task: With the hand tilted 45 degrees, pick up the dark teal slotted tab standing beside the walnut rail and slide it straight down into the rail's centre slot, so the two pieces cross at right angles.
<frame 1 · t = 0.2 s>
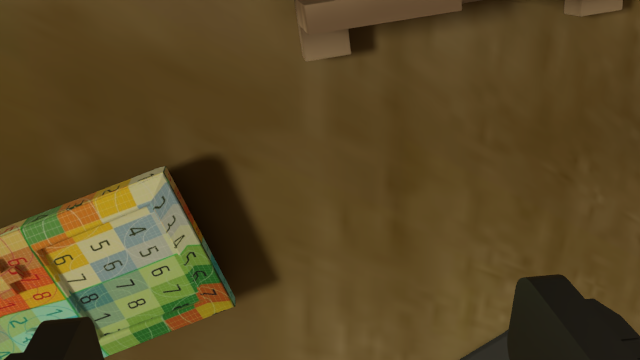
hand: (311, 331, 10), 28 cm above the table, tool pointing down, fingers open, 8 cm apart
puzzle game: (84, 264, 40), on the table
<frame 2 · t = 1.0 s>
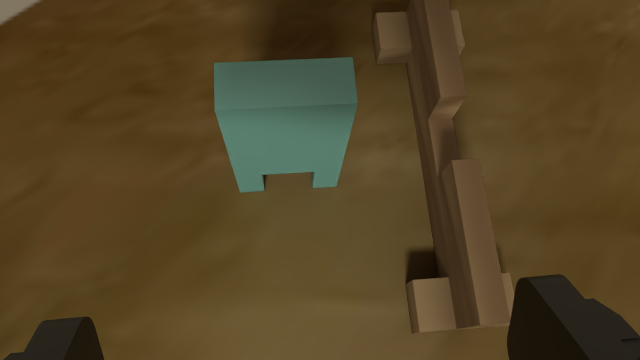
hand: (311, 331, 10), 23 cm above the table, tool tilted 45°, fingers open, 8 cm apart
slotted rail: (432, 163, 36), on the table
slotted tab: (287, 172, 35), on the table
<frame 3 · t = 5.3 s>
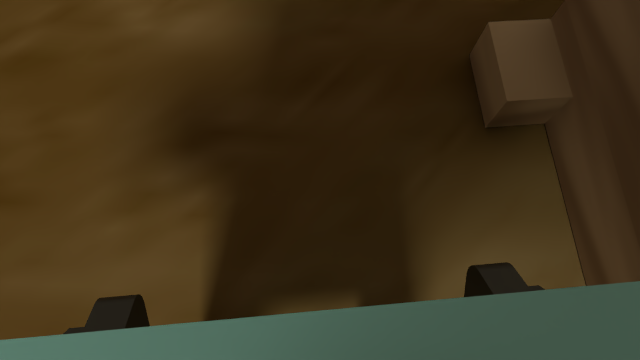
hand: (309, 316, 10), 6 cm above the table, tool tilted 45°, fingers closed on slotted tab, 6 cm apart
slotted rail: (629, 355, 16), on the table
when the fingers open (7 cm above the table, at t = 11.6 s): slotted tab drops 1 cm, on the table.
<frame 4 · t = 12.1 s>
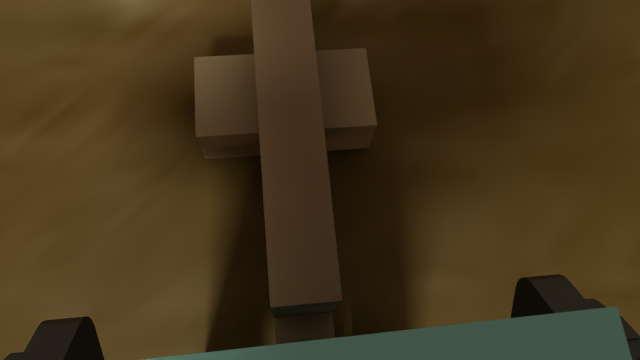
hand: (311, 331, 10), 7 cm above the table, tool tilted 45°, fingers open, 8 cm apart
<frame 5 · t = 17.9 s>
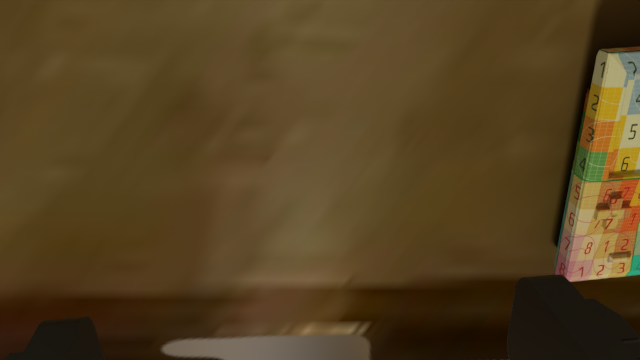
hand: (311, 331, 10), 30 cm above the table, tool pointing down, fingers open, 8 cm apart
puzzle game: (621, 154, 45), on the table
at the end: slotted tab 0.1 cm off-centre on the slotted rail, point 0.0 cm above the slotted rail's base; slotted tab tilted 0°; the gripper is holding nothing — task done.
